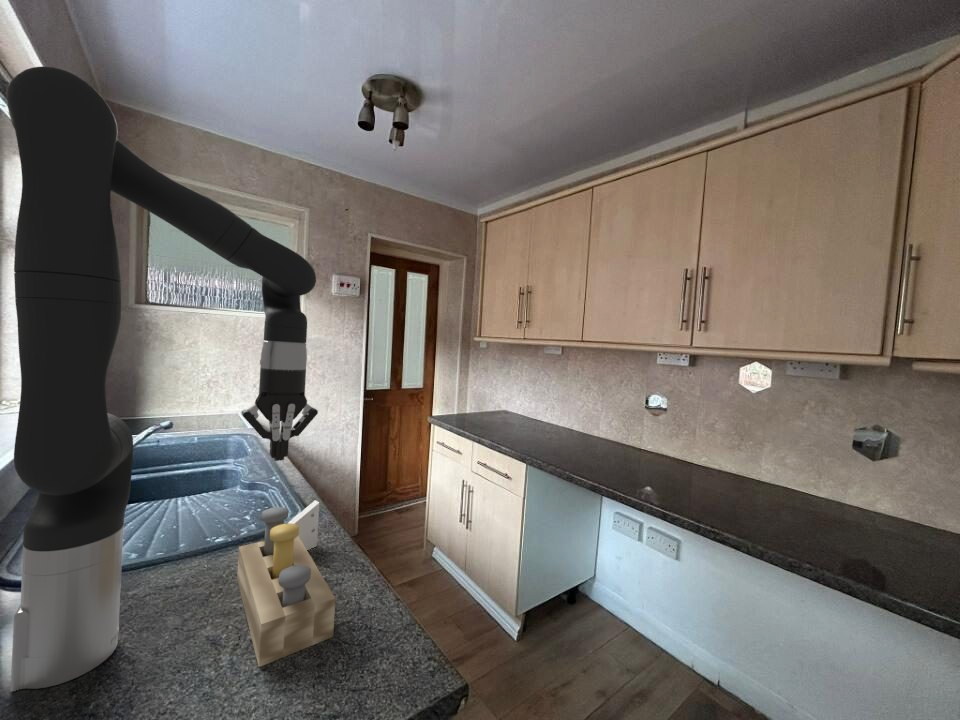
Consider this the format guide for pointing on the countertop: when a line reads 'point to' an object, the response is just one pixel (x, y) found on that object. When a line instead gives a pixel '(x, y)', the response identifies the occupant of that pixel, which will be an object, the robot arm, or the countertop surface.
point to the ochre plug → (283, 546)
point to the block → (263, 601)
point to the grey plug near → (294, 583)
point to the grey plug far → (272, 525)
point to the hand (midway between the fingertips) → (278, 459)
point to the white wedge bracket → (308, 525)
